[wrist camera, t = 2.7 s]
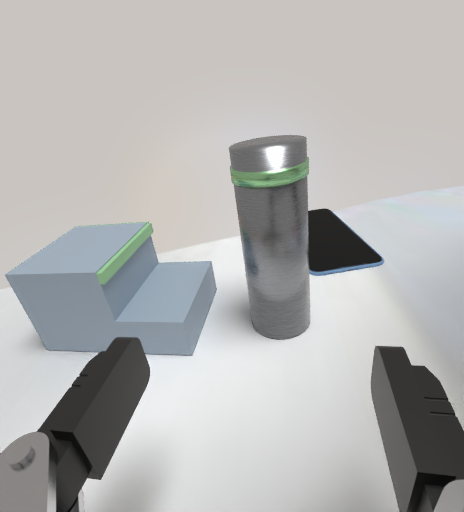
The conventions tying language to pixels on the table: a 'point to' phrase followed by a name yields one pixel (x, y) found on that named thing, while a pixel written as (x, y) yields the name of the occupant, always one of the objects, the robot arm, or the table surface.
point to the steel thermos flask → (274, 231)
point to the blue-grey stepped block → (113, 292)
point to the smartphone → (336, 245)
